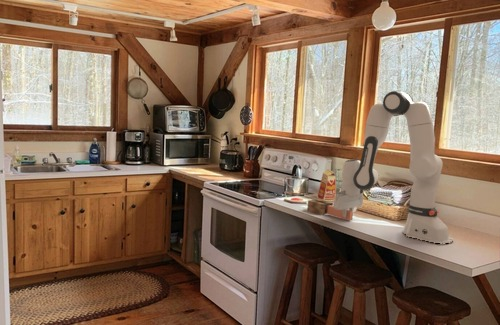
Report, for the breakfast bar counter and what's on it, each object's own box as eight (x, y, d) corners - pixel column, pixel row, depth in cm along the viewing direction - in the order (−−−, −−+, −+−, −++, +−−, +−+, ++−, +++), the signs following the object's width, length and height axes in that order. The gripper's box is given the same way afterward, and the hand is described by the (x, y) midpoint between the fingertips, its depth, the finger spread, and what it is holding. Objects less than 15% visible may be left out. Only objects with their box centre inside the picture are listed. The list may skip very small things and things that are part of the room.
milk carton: (316, 198, 285) (319, 167, 282) (328, 197, 288) (331, 167, 286) (324, 201, 276) (327, 169, 274) (336, 201, 280) (339, 169, 278)
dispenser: (331, 213, 246) (332, 202, 245) (320, 215, 240) (321, 204, 239) (318, 209, 253) (318, 199, 252) (307, 211, 247) (308, 200, 247)
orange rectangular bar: (352, 219, 231) (352, 211, 231) (349, 220, 230) (350, 211, 229) (329, 213, 242) (330, 205, 242) (327, 213, 241) (327, 205, 240)
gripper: (341, 193, 221) (339, 220, 223) (366, 189, 235) (363, 215, 236) (331, 190, 226) (329, 217, 228) (356, 187, 239) (354, 212, 241)
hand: (347, 216), depth 232 cm, fingers closed on orange rectangular bar, 2 cm apart
